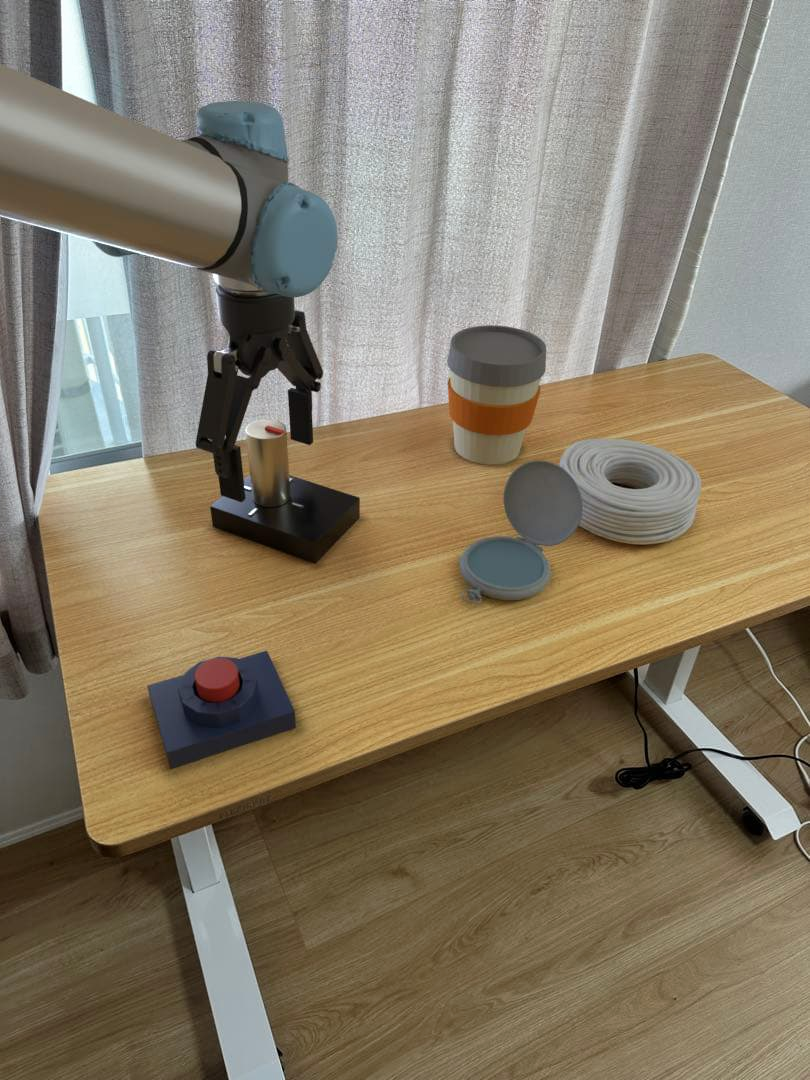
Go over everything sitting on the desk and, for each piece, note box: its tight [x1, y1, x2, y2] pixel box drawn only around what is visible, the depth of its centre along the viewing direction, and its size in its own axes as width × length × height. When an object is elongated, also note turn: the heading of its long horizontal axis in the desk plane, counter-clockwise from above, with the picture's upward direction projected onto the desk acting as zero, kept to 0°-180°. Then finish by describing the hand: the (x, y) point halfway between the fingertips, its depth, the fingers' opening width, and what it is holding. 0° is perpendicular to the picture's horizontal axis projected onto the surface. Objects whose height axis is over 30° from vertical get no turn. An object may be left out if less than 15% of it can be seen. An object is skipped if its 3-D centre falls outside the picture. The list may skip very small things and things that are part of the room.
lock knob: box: [245, 418, 290, 507], centre depth 91 cm, size 4×4×9 cm
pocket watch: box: [458, 459, 583, 604], centre depth 86 cm, size 10×11×15 cm
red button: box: [195, 657, 240, 703], centre depth 69 cm, size 4×4×2 cm
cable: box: [558, 437, 702, 545], centre depth 98 cm, size 18×18×6 cm
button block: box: [146, 650, 297, 770], centre depth 71 cm, size 11×8×4 cm
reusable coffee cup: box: [446, 324, 547, 466], centre depth 106 cm, size 13×13×15 cm
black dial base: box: [209, 474, 361, 565], centre depth 94 cm, size 14×10×3 cm
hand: (269, 467), depth 91 cm, fingers open, 13 cm apart
